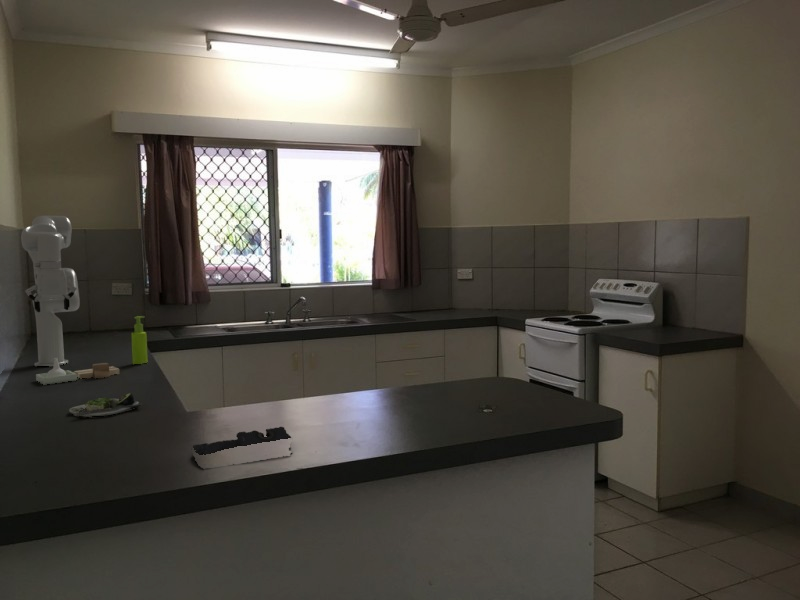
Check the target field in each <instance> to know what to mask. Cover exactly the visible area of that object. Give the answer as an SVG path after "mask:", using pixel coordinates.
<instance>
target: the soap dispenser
mask: <svg viewBox="0 0 800 600" xmlns="http://www.w3.org/2000/svg"><path fill="white" fill-rule="evenodd" d="M133 318H134V319H135V324H134V325H133V328H134V332H131V356H132V365H134V364H141V365H143V364H142V363H147V362H148V363H149V359H148V338H147V332H146V331H144V324H143V323H141V319H144V318H146V317H145V315H137V316H134V317H133ZM148 363H147V364H148Z"/></svg>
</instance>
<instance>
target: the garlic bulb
mask: <svg viewBox="0 0 800 600" xmlns="http://www.w3.org/2000/svg"><path fill="white" fill-rule="evenodd" d="M52 367H53V368H52V369H50V370H49V371H47V372H46V373H47V377H55V376H63V375H66V372H65V371H66V370H64V369H62V368H61V367H60V365H59V363H58V358H54V366H52Z"/></svg>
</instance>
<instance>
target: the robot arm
mask: <svg viewBox="0 0 800 600" xmlns="http://www.w3.org/2000/svg"><path fill="white" fill-rule="evenodd" d="M72 227H73V226H72V223H71V220H70V218H68V217H67V216H65V215H38V216H36V217H34V219H32V222H31V225H29V226H27V227H24V228H23V230H22V231H21V237H20V239H21V247H22V249H23V250H24V251H25V252H27V253H28V255H29V257H30V259H31V261H32V264H33V276H34V283H35V284H34V285H32V286H30V287H29V288H27V289H25V290H24V292H25V293H26V295H27V296H28V297H29V298H30V300H32V305H33V310H34V316H35V324H36V326H35V327H36V340H37V357H38V361H36V362H34V367H37V366H49V367H53V366H54V358H58V363H59V366H63V364H64V365H67V364H69V359H65V351H64V348H65V347H64V335H63V323H62V320H61V319H60V318H59V316H57V315H56V313H66V312H68V313H69V312H76V311H77V310H78V309H79V308H80V304H81V302H80V301H81V300H80V291H79V283H78V278H77V273H76V272H75V270H74V269H73V268H69V267H62V255H61V250H62V249H66V248H68V247H70V245H71V242H72V241H71V240H72V231H73V230H72ZM33 291H35V293H32V292H33ZM66 363H67V364H66Z"/></svg>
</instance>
